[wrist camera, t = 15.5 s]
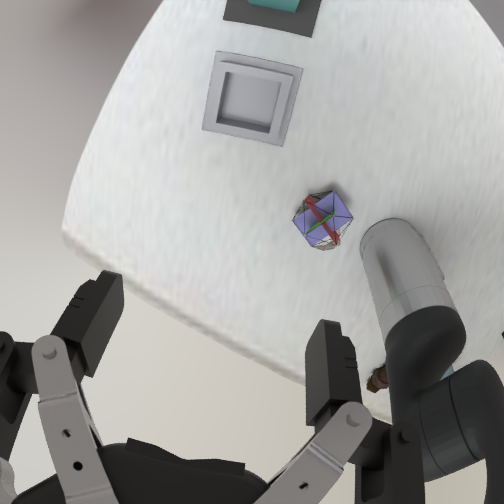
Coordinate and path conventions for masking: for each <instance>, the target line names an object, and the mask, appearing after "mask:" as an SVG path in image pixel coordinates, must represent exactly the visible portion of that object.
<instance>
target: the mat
mask: <svg viewBox="0 0 504 504" xmlns="http://www.w3.org/2000/svg"><path fill="white" fill-rule="evenodd" d="M320 2H321V0H300V1H299V3H298V6H297V9H296V11H295V13H292V12H287V11H283V10H278V9H273V8H268V7H263V6H257V5H252V4H250V3H249V2H248V1H247V0H227V4H226V8H225V12H224V16H223V20H227V21H234V22H240V23H246V24H252V25H258V26H263V27H268V28H273V29H277V30H282V31H286V32H291V33H295V34H299V35H303V36H307V37H310V38H311V37H312V33H313V29H314V25H315V22H316V18H317V14H318V10H319V6H320Z"/></svg>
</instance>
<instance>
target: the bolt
mask: <svg viewBox="0 0 504 504" xmlns="http://www.w3.org/2000/svg"><path fill="white" fill-rule="evenodd" d="M388 387H389V385H388V378H387V372H386V366H385V367H384V368H378V369H377V370H376V371H375V372H374V373H373V375H372V379H371V380H370V381H369V382H368V383H367V390H369V391H371V392H373V393H376V392H377V391H379V390H380V389H386V388H388Z"/></svg>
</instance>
